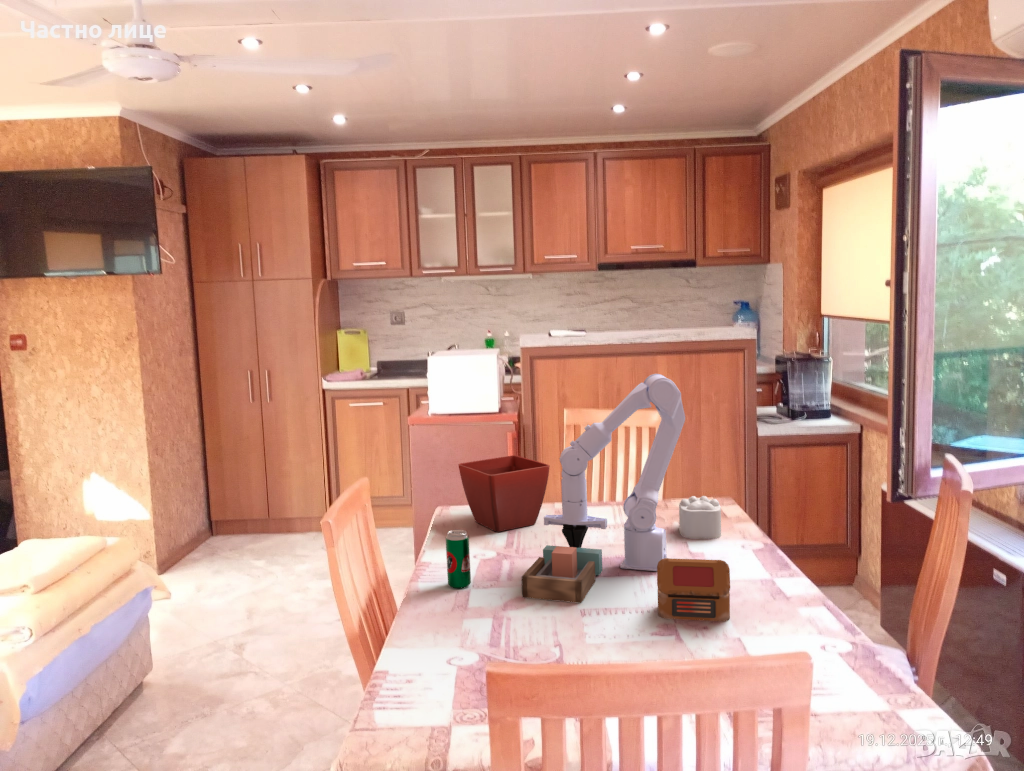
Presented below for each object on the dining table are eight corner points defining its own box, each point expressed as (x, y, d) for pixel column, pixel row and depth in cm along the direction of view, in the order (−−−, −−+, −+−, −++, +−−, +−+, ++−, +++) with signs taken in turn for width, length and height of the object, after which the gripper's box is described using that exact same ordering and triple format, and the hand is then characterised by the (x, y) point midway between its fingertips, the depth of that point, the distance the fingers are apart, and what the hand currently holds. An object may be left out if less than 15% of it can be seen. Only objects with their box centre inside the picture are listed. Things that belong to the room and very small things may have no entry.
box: (760, 590, 160) (760, 536, 158) (778, 652, 133) (778, 587, 131) (625, 585, 166) (624, 532, 164) (616, 643, 138) (614, 580, 137)
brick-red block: (572, 581, 165) (571, 554, 164) (552, 579, 166) (551, 552, 165) (577, 573, 169) (576, 547, 168) (557, 572, 170) (556, 546, 170)
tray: (602, 570, 173) (601, 549, 172) (587, 594, 160) (586, 571, 159) (547, 566, 177) (546, 545, 177) (528, 588, 164) (527, 566, 164)
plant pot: (517, 509, 226) (514, 454, 224) (553, 525, 210) (551, 464, 208) (459, 521, 216) (456, 463, 215) (492, 538, 200) (490, 475, 198)
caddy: (595, 581, 167) (594, 561, 167) (581, 603, 156) (580, 581, 155) (540, 576, 172) (539, 557, 171) (522, 597, 160) (521, 576, 160)
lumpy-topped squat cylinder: (681, 538, 194) (680, 505, 193) (677, 523, 207) (677, 492, 206) (723, 539, 192) (723, 505, 191) (717, 523, 205) (716, 492, 204)
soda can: (467, 590, 165) (465, 536, 164) (445, 589, 166) (442, 535, 165) (473, 581, 170) (471, 529, 169) (451, 580, 171) (449, 528, 170)
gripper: (609, 496, 176) (610, 553, 178) (549, 493, 181) (551, 548, 183) (602, 504, 170) (603, 563, 171) (540, 500, 175) (542, 558, 176)
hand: (576, 556), depth 177 cm, fingers closed, pressing on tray
